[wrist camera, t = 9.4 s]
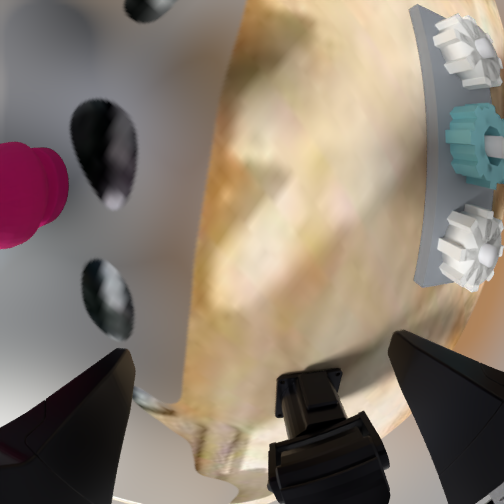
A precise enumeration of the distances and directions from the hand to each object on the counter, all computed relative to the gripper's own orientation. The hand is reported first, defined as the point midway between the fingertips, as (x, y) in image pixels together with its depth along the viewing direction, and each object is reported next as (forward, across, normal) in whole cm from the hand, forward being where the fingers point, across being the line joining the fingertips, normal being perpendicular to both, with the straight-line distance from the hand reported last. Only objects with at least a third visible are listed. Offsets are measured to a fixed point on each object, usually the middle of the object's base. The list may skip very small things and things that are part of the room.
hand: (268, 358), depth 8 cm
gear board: (+12, -20, -9) cm, 25 cm away
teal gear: (+10, -20, -9) cm, 24 cm away
